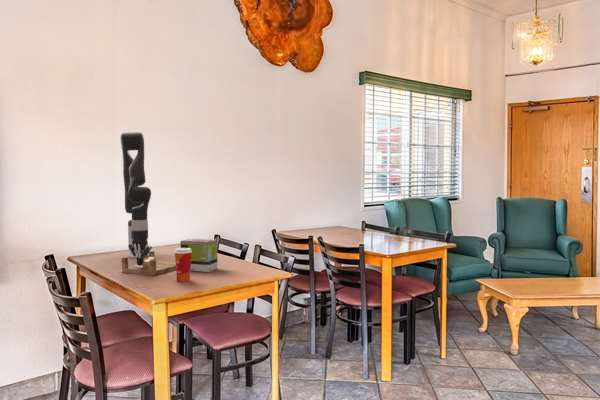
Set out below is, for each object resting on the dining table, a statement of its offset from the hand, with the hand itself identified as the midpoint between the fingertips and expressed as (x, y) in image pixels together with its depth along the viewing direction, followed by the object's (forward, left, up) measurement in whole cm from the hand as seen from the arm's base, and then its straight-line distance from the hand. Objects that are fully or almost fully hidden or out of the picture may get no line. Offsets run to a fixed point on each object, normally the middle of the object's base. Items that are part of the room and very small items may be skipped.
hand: (140, 265), depth 229 cm
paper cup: (+5, +30, -3) cm, 31 cm away
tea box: (-17, +22, -4) cm, 28 cm away
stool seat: (-6, +2, -3) cm, 7 cm away
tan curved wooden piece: (-6, +1, -1) cm, 6 cm away
